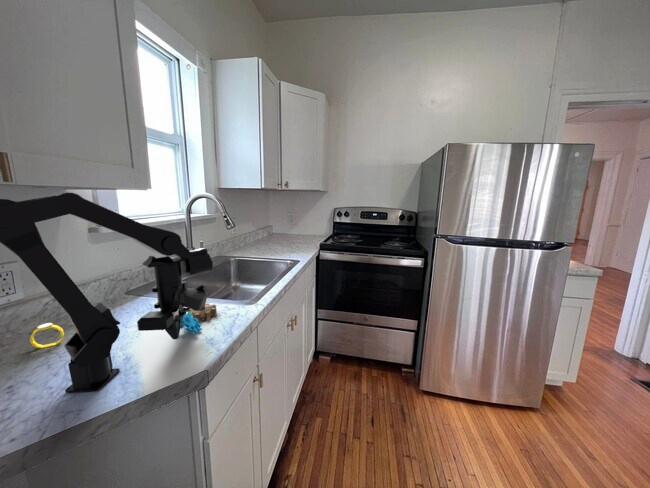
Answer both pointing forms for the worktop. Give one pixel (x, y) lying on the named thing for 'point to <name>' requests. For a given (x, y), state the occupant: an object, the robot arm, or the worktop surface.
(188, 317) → the gear
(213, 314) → the gear
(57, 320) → the worktop surface
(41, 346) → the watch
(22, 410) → the worktop surface
